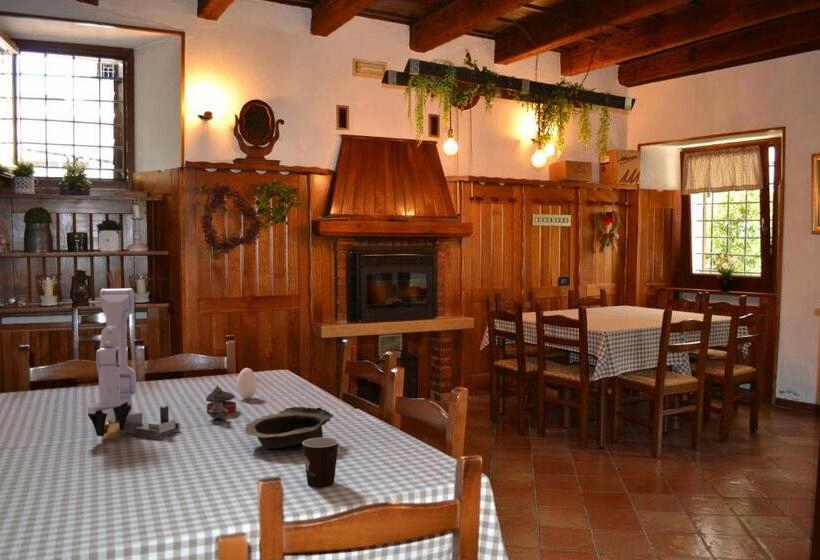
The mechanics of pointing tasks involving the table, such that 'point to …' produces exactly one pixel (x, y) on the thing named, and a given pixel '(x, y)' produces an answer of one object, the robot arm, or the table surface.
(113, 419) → the robot arm
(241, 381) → the egg
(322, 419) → the stone bowl
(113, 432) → the gold bell
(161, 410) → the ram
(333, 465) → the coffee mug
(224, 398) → the canned food
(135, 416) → the press frame
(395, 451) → the table surface
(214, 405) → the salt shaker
